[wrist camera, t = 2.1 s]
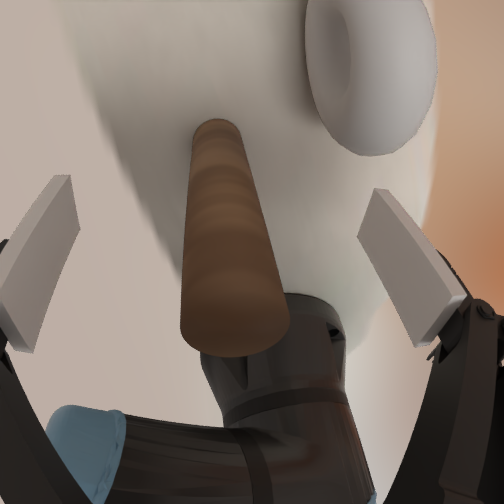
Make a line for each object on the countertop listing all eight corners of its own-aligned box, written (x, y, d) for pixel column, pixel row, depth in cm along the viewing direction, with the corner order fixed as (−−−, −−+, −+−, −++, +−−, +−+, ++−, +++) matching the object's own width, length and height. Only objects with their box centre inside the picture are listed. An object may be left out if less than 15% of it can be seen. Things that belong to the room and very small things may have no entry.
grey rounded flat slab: (290, -31, 13) (369, -73, 5) (347, -27, 13) (456, -46, 5) (299, 120, 19) (365, 203, 11) (350, 118, 19) (437, 195, 12)
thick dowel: (238, 163, 20) (278, 355, 10) (192, 162, 20) (182, 357, 9) (243, 120, 19) (301, 290, 8) (194, 117, 18) (177, 289, 7)
